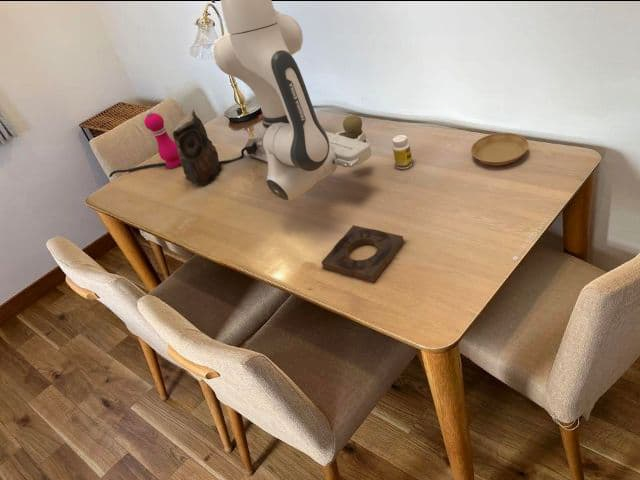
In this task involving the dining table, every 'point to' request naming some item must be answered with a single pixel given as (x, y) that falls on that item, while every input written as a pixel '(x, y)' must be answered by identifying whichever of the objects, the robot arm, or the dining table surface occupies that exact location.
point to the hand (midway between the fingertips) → (357, 133)
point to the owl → (196, 150)
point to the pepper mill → (162, 139)
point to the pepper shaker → (353, 126)
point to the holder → (367, 267)
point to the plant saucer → (499, 148)
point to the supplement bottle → (402, 152)
